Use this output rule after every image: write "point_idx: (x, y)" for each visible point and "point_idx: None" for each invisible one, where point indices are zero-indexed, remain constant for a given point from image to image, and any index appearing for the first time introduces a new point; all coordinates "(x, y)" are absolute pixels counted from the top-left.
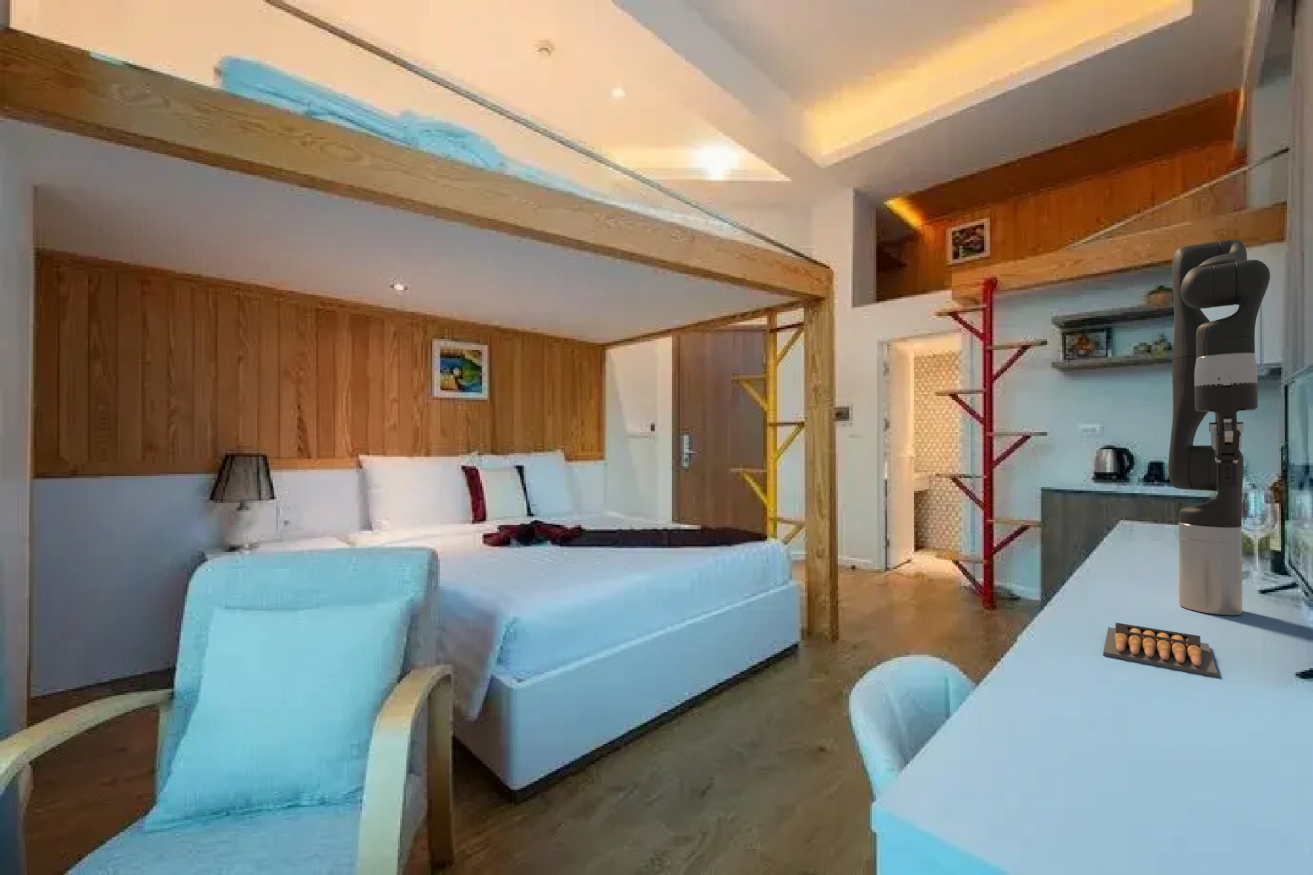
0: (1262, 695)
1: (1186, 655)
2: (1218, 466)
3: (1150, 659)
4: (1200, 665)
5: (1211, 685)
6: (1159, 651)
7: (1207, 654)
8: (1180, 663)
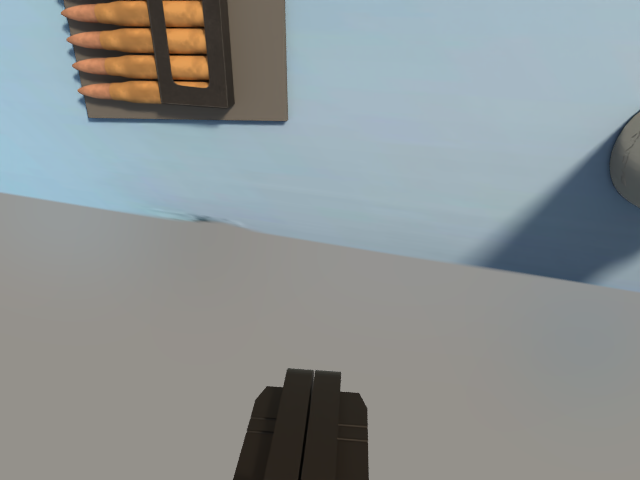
0: (55, 163)
1: None
2: (265, 471)
3: None
4: None
5: (39, 104)
6: (96, 32)
7: (201, 113)
8: None
